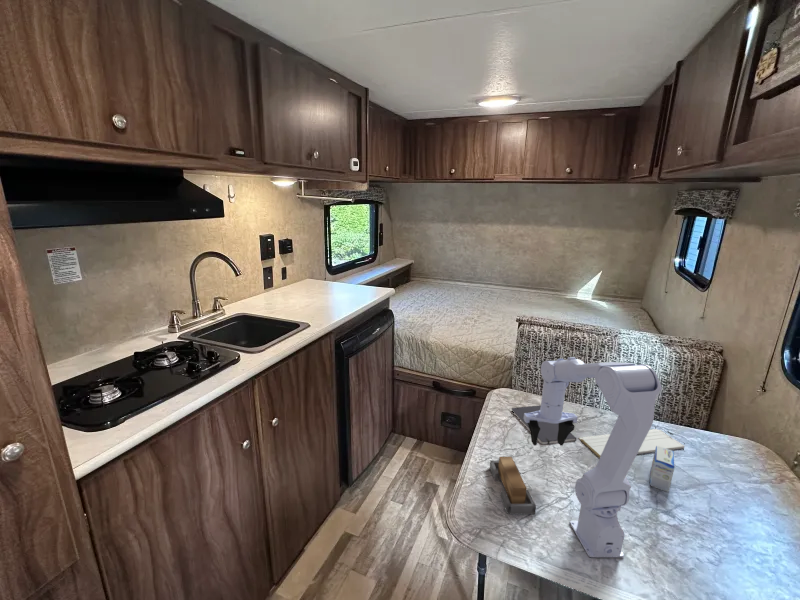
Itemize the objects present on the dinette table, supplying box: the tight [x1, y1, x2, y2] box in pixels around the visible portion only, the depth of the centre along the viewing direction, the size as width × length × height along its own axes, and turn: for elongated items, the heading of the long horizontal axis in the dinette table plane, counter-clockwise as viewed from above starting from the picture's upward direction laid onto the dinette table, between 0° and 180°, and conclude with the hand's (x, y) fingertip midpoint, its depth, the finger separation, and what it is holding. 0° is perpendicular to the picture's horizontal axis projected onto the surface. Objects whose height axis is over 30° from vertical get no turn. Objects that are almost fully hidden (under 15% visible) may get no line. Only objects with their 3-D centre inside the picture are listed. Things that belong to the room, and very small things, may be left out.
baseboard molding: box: [578, 425, 686, 459], centre depth 121 cm, size 31×3×12 cm
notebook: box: [511, 404, 577, 445], centre depth 130 cm, size 13×2×21 cm
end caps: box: [489, 460, 537, 515], centre depth 99 cm, size 17×7×2 cm, turn 1°
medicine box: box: [649, 446, 676, 493], centre depth 102 cm, size 8×4×9 cm, turn 145°
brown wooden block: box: [498, 456, 528, 504], centre depth 99 cm, size 12×4×5 cm, turn 1°
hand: (546, 443), depth 104 cm, fingers open, 7 cm apart
